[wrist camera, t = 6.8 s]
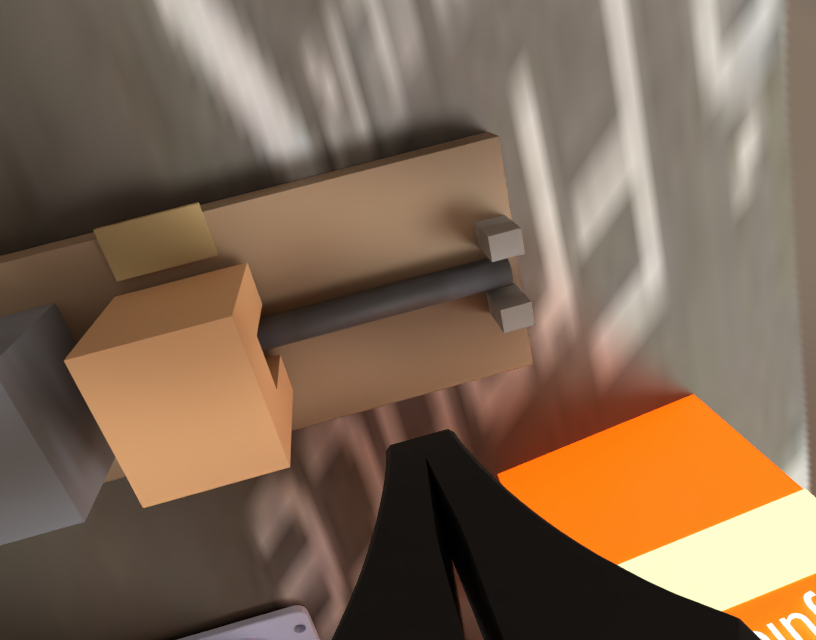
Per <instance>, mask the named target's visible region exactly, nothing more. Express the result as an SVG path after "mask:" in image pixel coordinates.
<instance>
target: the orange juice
mask: <svg viewBox="0 0 816 640" xmlns="http://www.w3.org/2000/svg"><path fill="white" fill-rule="evenodd" d="M497 475H498V477H499V480H500V482H501V484H502V485H503V486H504V487H505V488H506V489H507V490H509V491H510V492H511V493H512V494H513V495H514V496H516V497H517V498H518V499H519V500H520V501H522V502H523V503H524V504H525V505H527V506H528V507H529V508H530V509H532V510H533V511H534V512H535V513H537V514H538V515H539V516H541V517H542V518H543V519H545V520H546V521H547V522H549V523H550V524H551V525H553V526H554V527H556V528H557V529H559V530H560V531H562V532H563V533H565V534H566V535H568V536H569V537H571V538H572V539H574V540H575V541H577V542H578V543H580V544H582V545H583V546H585V547H586V548H588V549H590V550H591V551H593V552H595V553H596V554H598V555H600V556H602V557H603V558H605V559H607V560H609V561H611V562H613V563H615V564H617V565H618V566H620V567H622V568H624V569H626V570H628V571H630V572H631V573H633V574H635V575H637V576H639V577H641V578H643V579H645V580H647V581H649V582H651V583H653V584H655V585H658V586H660V587H662V588H664V589H666V590H668V591H671V592H673V593H675V594H678V595H680V596H683V597H685V598H688V599H691V600H693V601H696V602H699V603H701V604H704V605H706V606H709V607H712V608H714V609H717V610H720V611H722V612H725V613H727V614H730V615H733V616H735V617H738V618H740V619H741V620H742V621H743V622H744V623H745V624H746V625H747V626H748V627H749V628H750V629H751V630H752V631H753V632H754V633H755V634H756V635H757V636H758V637H759V638H760V639H761V640H816V498H815V497H814V496H813V495H812V494H811V493H810V492H808V491H807V490H806V489H802V488H801V487H800V486H799V485H798V484H797V483H795V482H794V481H793V480H792V479H791V478H790V477H788V476H787V475H786V474H785V473H784V472H783V471H782V470H780V469H779V468H778V467H777V466H776V465H775V464H774V463H772V462H771V461H770V460H769V459H768V458H767V457H765V456H764V455H763V454H762V453H761V452H760V451H759V450H757V449H756V448H755V447H754V446H753V445H752V444H750V443H749V442H748V441H747V440H746V439H745V438H744V437H742V436H741V435H740V434H739V433H738V432H737V431H735V430H734V429H733V428H732V427H731V426H730V425H729V424H727V423H726V422H725V421H724V420H723V419H722V418H721V417H719V416H718V415H717V414H716V413H715V412H714V411H712V410H711V409H710V408H709V407H708V406H707V405H706V404H704V403H703V402H702V401H701V400H700V399H699V398H697V397H696V396H695V395H694V394H692V395H690V396H687V397H685V398H683V399H680V400H678V401H675V402H673V403H670V404H668V405H665V406H663V407H661V408H658V409H656V410H653V411H651V412H648V413H646V414H643V415H641V416H639V417H636V418H634V419H631V420H629V421H626V422H624V423H621V424H619V425H617V426H614V427H612V428H609V429H607V430H604V431H602V432H599V433H597V434H595V435H592V436H590V437H587V438H585V439H582V440H580V441H577V442H575V443H573V444H570V445H568V446H565V447H563V448H560V449H558V450H555V451H553V452H551V453H548V454H546V455H543V456H541V457H538V458H536V459H533V460H531V461H529V462H526V463H524V464H521V465H519V466H516V467H514V468H511V469H509V470H507V471H504V472H502V473H499V474H497Z"/></svg>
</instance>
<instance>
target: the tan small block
mask: <svg viewBox="0 0 816 640" xmlns="http://www.w3.org/2000/svg"><path fill="white" fill-rule="evenodd" d="M261 308H262V302H261V299H260V296H259V294H258V291H257V288H256V285H255V282H254V280H253V277H252V274H251V271H250V268H249V266H248V263H247V262H246V263H243V264H239V265H235V266H231V267H227V268H223V269H220V270H216V271H212V272H208V273H204V274H200V275H197V276H193V277H189V278H185V279H181V280H177V281H174V282H170V283H166V284H162V285H158V286H154V287H150V288H147V289H143V290H139V291H135V292H131V293H127V294H124V295H120V296H116V297H114V298H113V300H112V301H111V302H110V303H109V305H108V306H107V307H106V308H105V310H104V311H103V312H102V313H101V315H100V316H99V317H98V318H97V320H96V321H95V322H94V323H93V325H92V326H91V327H90V328H89V330H88V331H87V332H86V333H85V335H84V336H83V337H82V338H81V340H80V341H79V342H78V343H77V345H76V346H75V347H74V348H73V350H72V351H71V352H70V353H69V355H68V356H67V357H66V358H65V360H64V362H65V364H66V366H67V368H68V370H69V372H70V374H71V375H72V377H73V379H74V381H75V383H76V385H77V387H78V388H79V390H80V392H81V394H82V396H83V398H84V400H85V401H86V403H87V405H88V407H89V409H90V411H91V412H92V414H93V416H94V418H95V420H96V422H97V424H98V425H99V427H100V429H101V431H102V433H103V435H104V437H105V438H106V440H107V442H108V444H109V446H110V448H111V450H112V451H113V453H114V455H115V457H116V459H117V461H118V462H119V464H120V466H121V468H122V470H123V472H124V474H125V475H126V477H127V479H128V481H129V483H130V485H131V487H132V488H133V490H134V492H135V494H136V496H137V498H138V500H139V501H140V503H141V505H142V507H143V508H146V507H149V506H153V505H157V504H160V503H164V502H167V501H171V500H174V499H178V498H182V497H185V496H189V495H192V494H196V493H199V492H203V491H207V490H210V489H214V488H217V487H221V486H225V485H228V484H232V483H235V482H239V481H242V480H246V479H250V478H253V477H257V476H260V475H264V474H267V473H271V472H275V471H278V470H282V469H285V468H289V467H290V456H291V430H292V405H293V389H292V386H291V383H290V380H289V377H288V375H287V372H286V369H285V366H284V363H283V361H282V358H281V355H280V354H278V355H275V356H271V357H267V358H265V357H264V354H263V351H262V348H261V346H260V343H259V340H258V338H257V331H258V325H259V320H260V314H261Z"/></svg>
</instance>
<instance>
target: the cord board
mask: <svg viewBox="0 0 816 640" xmlns="http://www.w3.org/2000/svg"><path fill="white" fill-rule="evenodd" d="M93 231H94V232H92V233H88V234H84V235H81V236H77V237H73V238H69V239H65V240H61V241H57V242H53V243H49V244H45V245H41V246H37V247H33V248H29V249H26V250H22V251H18V252H14V253H10V254H6V255H2V256H0V545H4V544H7V543H11V542H14V541H18V540H22V539H25V538H29V537H32V536H36V535H39V534H43V533H47V532H50V531H54V530H57V529H61V528H64V527H68V526H72V525H75V524H79V523H82V522H85V520H86V518H87V516H88V514H89V512H90V510H91V507H92V505H93V503H94V501H95V499H96V497H97V495H98V493H99V491H100V489H101V487H102V484H103V483H105V482H109V481H112V480H116V479H120V478H123V477H126V475H125V474H124V472H123V470H122V468H121V466H120V464H119V462H118V461H117V459H116V457H115V455H114V453H113V451H112V450H111V448H110V446H109V444H108V442H107V440H106V438H105V437H104V435H103V433H102V431H101V429H100V427H99V425H98V424H97V422H96V420H95V418H94V416H93V414H92V412H91V411H90V409H89V407H88V405H87V403H86V401H85V400H84V398H83V396H82V394H81V392H80V390H79V388H78V387H77V385H76V383H75V381H74V379H73V377H72V375H71V374H70V372H69V370H68V368H67V366H66V364H65V362H64V360H65V358H66V357H67V356H68V355H69V353H70V352H71V351H72V350H73V348H74V347H75V346H76V345H77V343H78V342H79V341H80V340H81V338H82V337H83V336H84V335H85V333H86V332H87V331H88V330H89V328H90V327H91V326H92V325H93V323H94V322H95V321H96V320H97V318H98V317H99V316H100V315H101V313H102V312H103V311H104V310H105V308H106V307H107V306H108V305H109V303H110V302H111V301H112V300H113V298H114V297H116V296H120V295H124V294H127V293H131V292H135V291H139V290H143V289H147V288H150V287H154V286H158V285H162V284H166V283H170V282H174V281H177V280H181V279H185V278H189V277H193V276H197V275H200V274H204V273H208V272H212V271H216V270H220V269H223V268H227V267H231V266H235V265H239V264H243V263H246V262H247V263H248V266H249V268H250V271H251V274H252V277H253V280H254V282H255V285H256V288H257V291H258V294H259V296H260V299H261V302H262V308H261V314H260V320H259V325H258V331H257V338H258V340H259V343H260V346H261V348H262V351H263V354H264V357H265V358H267V357H271V356H275V355H278V354H280V355H281V358H282V361H283V363H284V366H285V369H286V372H287V375H288V377H289V380H290V383H291V386H292V389H293V405H292V430H291V431H293V430H297V429H301V428H304V427H308V426H311V425H315V424H319V423H322V422H326V421H329V420H333V419H337V418H340V417H344V416H348V415H351V414H355V413H358V412H362V411H366V410H369V409H373V408H376V407H380V406H384V405H387V404H391V403H395V402H398V401H402V400H405V399H409V398H413V397H416V396H420V395H424V394H427V393H431V392H434V391H438V390H442V389H445V388H449V387H452V386H456V385H460V384H463V383H467V382H471V381H474V380H478V379H481V378H485V377H489V376H492V375H496V374H500V373H503V372H507V371H510V370H514V369H518V368H521V367H525V366H528V365H532V364H533V361H532V355H531V348H530V341H529V334H528V328H527V327H528V326H532V325H535V323H534V316H533V309H532V302H531V301H530V300H529V299H528V297H527V296H526V295H525V294H524V293H523V292H522V287H521V281H520V274H519V267H518V260H517V255H521V254H525V253H524V246H523V239H522V231H521V228H520V227H519V226H518V225H517V224H515V223H514V222H513V221H512V220H511V213H510V207H509V200H508V193H507V186H506V180H505V173H504V166H503V159H502V153H501V146H500V139H499V136H497V135H495V134H492V133H490V132H485V133H481V134H477V135H473V136H469V137H465V138H461V139H457V140H453V141H450V142H446V143H442V144H438V145H434V146H430V147H426V148H422V149H418V150H414V151H410V152H406V153H402V154H399V155H395V156H391V157H387V158H383V159H379V160H375V161H371V162H367V163H363V164H359V165H355V166H351V167H347V168H344V169H340V170H336V171H332V172H328V173H324V174H320V175H316V176H312V177H308V178H304V179H300V180H296V181H293V182H289V183H285V184H281V185H277V186H273V187H269V188H265V189H261V190H257V191H253V192H249V193H245V194H241V195H238V196H234V197H230V198H226V199H222V200H218V201H214V202H210V203H206V204H202V205H199V202H197V203H193V204H189V205H185V206H181V207H177V208H173V209H169V210H165V211H161V212H157V213H154V214H150V215H146V216H142V217H138V218H134V219H130V220H126V221H122V222H118V223H114V224H110V225H106V226H102V227H99V228H95V229H94V230H93Z"/></svg>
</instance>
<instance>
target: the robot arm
mask: <svg viewBox="0 0 816 640" xmlns="http://www.w3.org/2000/svg"><path fill="white" fill-rule="evenodd" d="M452 560H453V563H454V566H455V568H456V571H457V573H458V576H459V578H460V581H461V583H462V586H463V588H464V591H465V593H466V596H467V598H468V601H469V603H470V606H471V608H472V611H473V613H474V616H475V618H476V621H477V623H478V626H479V628H480V631H481V633H482V636H483V638H484V640H761V639H760V638H759V637H758V636H757V635H756V634H755V633H754V632H753V631H752V630H751V629H750V628H749V627H748V626H747V625H746V624H745V623H744V622H743V621H742V620H741V619H740V618H738V617H735V616H733V615H730V614H727V613H725V612H722V611H720V610H717V609H714V608H712V607H709V606H706V605H704V604H701V603H699V602H696V601H693V600H691V599H688V598H685V597H683V596H680V595H678V594H675V593H673V592H671V591H668V590H666V589H664V588H662V587H660V586H658V585H655V584H653V583H651V582H649V581H647V580H645V579H643V578H641V577H639V576H637V575H635V574H633V573H631V572H630V571H628V570H626V569H624V568H622V567H620V566H618V565H617V564H615V563H613V562H611V561H609V560H607V559H605V558H603V557H602V556H600V555H598V554H596V553H595V552H593V551H591V550H590V549H588V548H586V547H585V546H583V545H582V544H580V543H578V542H577V541H575V540H574V539H572V538H571V537H569V536H568V535H566V534H565V533H563V532H562V531H560V530H559V529H557V528H556V527H554V526H553V525H551V524H550V523H549V522H547V521H546V520H545V519H543V518H542V517H541V516H539V515H538V514H537V513H535V512H534V511H533V510H532V509H530V508H529V507H528V506H527V505H525V504H524V503H523V502H522V501H520V500H519V499H518V498H517V497H516V496H514V495H513V494H512V493H511V492H510V491H509V490H507V489H506V488H505V487H504V486H503V485H502V484H501V483H500V482H499V481H498V480H497V479H496V478H495V477H493V476H492V475H491V474H490V473H489V472H488V471H487V470H486V469H485V468H484V467H483V466H482V465H481V464H480V463H479V462H478V461H477V460H476V459H475V457H474V456H473V455H472V454H471V453H470V452H469V451H468V450H467V449H466V447H465V446H464V445H463V444H462V442H461V441H460V440H459V439H458V437H457V436H456V434H455V433H454V432H453V431H451V430H449V429H447V430H443V431H439V432H436V433H432V434H429V435H425V436H422V437H418V438H414V439H411V440H407V441H404V442H400V443H397V444H393V445H390V446H389V448H388V449H387V451H386V472H385V480H384V486H383V492H382V497H381V502H380V507H379V511H378V516H377V520H376V524H375V528H374V531H373V535H372V538H371V541H370V545H369V548H368V552H367V555H366V558H365V561H364V564H363V567H362V570H361V573H360V575H359V578H358V581H357V583H356V586H355V588H354V591H353V593H352V596H351V598H350V601H349V603H348V605H347V608H346V610H345V612H344V614H343V616H342V618H341V621H340V623H339V625H338V627H337V629H336V632H335V634H334V636H333V638H332V640H467V639H466V634H465V628H464V623H463V617H462V612H461V606H460V601H459V596H458V590H457V585H456V579H455V574H454V569H453V563H452ZM298 624H302V625H298ZM177 640H320V638H319V636H318V634H317V631H316V629H315V626H314V624H313V622H312V619H311V617H310V615H309V612H308V610H307V609H306V608H305V607H303V606H300V605H295V606H291V607H287V608H284V609H280V610H277V611H273V612H270V613H267V614H263V615H260V616H256V617H253V618H249V619H246V620H243V621H239V622H236V623H232V624H229V625H225V626H222V627H219V628H215V629H212V630H208V631H205V632H201V633H198V634H195V635H191V636H188V637H184V638H181V639H177Z"/></svg>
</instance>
